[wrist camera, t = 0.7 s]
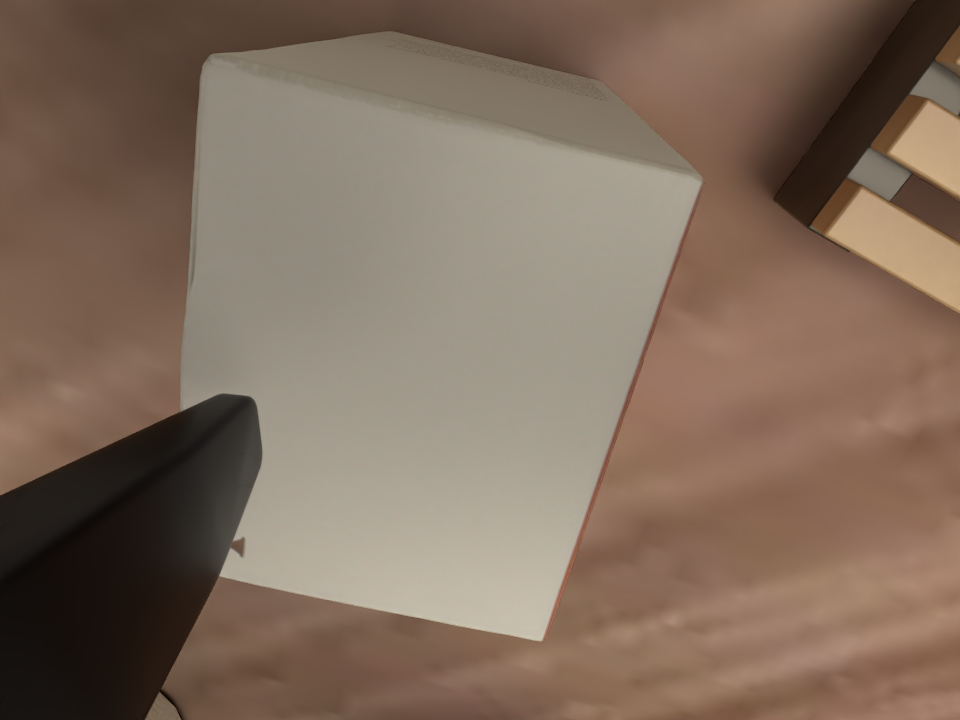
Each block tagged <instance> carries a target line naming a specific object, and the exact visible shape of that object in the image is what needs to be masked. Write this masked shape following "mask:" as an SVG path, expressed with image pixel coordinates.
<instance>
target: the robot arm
mask: <svg viewBox="0 0 960 720" xmlns="http://www.w3.org/2000/svg"><path fill="white" fill-rule="evenodd" d="M262 455H263V450H262V441H261V433H260V425H259V417H258V409H257V405H256V402H255V400H254V399H253V398H252V397H250V396H245V395H236V394H226V393H221V394H218V395H215V396H213V397H211V398H209V399H207V400H205V401H202V402H200V403H198V404H196V405H194V406H192V407H190V408H187V409H185V410H183V411H181V412H179V413H177V414H175V415H172V416H170V417H168V418H166V419H164V420H162V421H160V422H157V423H155V424H153V425H151V426H149V427H147V428H144V429H142V430H140V431H138V432H136V433H134V434H132V435H129V436H127V437H125V438H123V439H121V440H119V441H117V442H114V443H112V444H110V445H108V446H106V447H104V448H102V449H99V450H97V451H95V452H93V453H91V454H89V455H86V456H84V457H82V458H80V459H78V460H76V461H74V462H71V463H69V464H67V465H65V466H63V467H61V468H59V469H56V470H54V471H52V472H50V473H48V474H46V475H43V476H41V477H39V478H37V479H35V480H33V481H31V482H28V483H26V484H24V485H22V486H20V487H18V488H16V489H13V490H11V491H9V492H7V493H5V494H3V495H1V496H0V720H145V719H146V717H147V715H148V713H149V711H150V709H151V707H152V705H153V703H154V701H155V699H156V697H157V695H158V694H159V692H160V690H161V688H162V686H163V684H164V682H165V680H166V678H167V676H168V674H169V672H170V670H171V668H172V666H173V665H174V663H175V661H176V659H177V657H178V655H179V653H180V651H181V649H182V647H183V645H184V643H185V641H186V639H187V637H188V636H189V634H190V632H191V630H192V628H193V626H194V624H195V622H196V620H197V618H198V616H199V614H200V612H201V610H202V608H203V607H204V605H205V603H206V601H207V599H208V597H209V595H210V593H211V591H212V589H213V587H214V585H215V583H216V581H217V579H218V577H219V575H220V573H221V570H222V568H223V565H224V563H225V560H226V558H227V555H228V553H229V550H230V548H231V545H232V542H233V540H234V537H235V534H236V532H237V529H238V526H239V524H240V521H241V518H242V516H243V513H244V510H245V508H246V505H247V503H248V500H249V497H250V495H251V492H252V489H253V487H254V484H255V481H256V479H257V476H258V473H259V471H260V468H261V463H262Z"/></svg>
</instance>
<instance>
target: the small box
mask: <svg viewBox="0 0 960 720" xmlns="http://www.w3.org/2000/svg"><path fill="white" fill-rule="evenodd" d="M704 184H705V182H704V180H703V178H702V177H701V175H700V174H699V173H698V172H697V171H696V170H695V169H694V168H693V167H692V166H691V165H690V163H689V162H688V161H686V160H685V159H684V158H683V157H682V156H681V155H680V154H679V153H678V152H677V151H675V150H674V149H673V148H672V147H671V146H670V145H669V144H668V143H667V142H666V141H665V140H664V139H663V138H662V137H661V136H660V135H659V134H658V133H657V132H656V131H654V130H653V129H652V128H651V127H650V126H649V125H648V124H647V123H646V122H645V121H644V120H643V119H642V118H641V117H639V116H638V115H637V114H636V113H635V112H634V111H633V110H632V109H631V108H630V107H629V106H628V105H627V104H626V103H625V102H624V101H623V100H622V99H621V98H620V97H619V96H618V95H616V94H615V93H614V92H613V91H612V90H611V89H609V87H608V86H607V85H606V84H605V83H603V82H601V81H598V80H595V79H590V78H586V77H582V76H578V75H574V74H569V73H565V72H561V71H557V70H552V69H548V68H544V67H540V66H536V65H532V64H527V63H523V62H519V61H515V60H511V59H507V58H502V57H498V56H494V55H490V54H486V53H481V52H477V51H473V50H469V49H465V48H461V47H456V46H452V45H448V44H444V43H440V42H436V41H431V40H427V39H423V38H419V37H415V36H410V35H406V34H402V33H398V32H392V31H384V32H378V33H369V34H361V35H356V36H349V37H344V38H338V39H333V40H323V41H318V42H309V43H303V44H296V45H290V46H283V47H277V48H271V49H265V50H252V51H245V52H233V53H215V54H211V55H210V56H209V58H208V59H207V60H206V62H205V63H204V64H203V68H202V72H201V76H200V88H199V104H198V116H197V129H196V148H195V165H194V180H193V195H192V217H191V238H190V255H189V271H188V290H187V300H186V310H185V319H184V327H183V336H182V347H181V373H180V382H181V394H180V412H181V411H183V410H185V409H187V408H190V407H192V406H194V405H196V404H198V403H200V402H202V401H205V400H207V399H209V398H211V397H213V396H215V395H218V394H221V393H226V394H236V395H245V396H250V397H252V398H253V399H254V400H255V402H256V405H257V409H258V417H259V425H260V433H261V441H262V450H263V455H262V463H261V468H260V471H259V473H258V476H257V479H256V481H255V484H254V487H253V489H252V492H251V495H250V497H249V500H248V503H247V505H246V508H245V510H244V513H243V516H242V518H241V521H240V524H239V526H238V529H237V532H236V534H235V537H234V540H233V542H232V545H231V548H230V550H229V553H228V555H227V558H226V560H225V563H224V565H223V568H222V570H221V573H220V575H219V576H221V577H225V578H229V579H233V580H237V581H242V582H246V583H250V584H255V585H259V586H264V587H268V588H273V589H278V590H282V591H287V592H292V593H297V594H302V595H306V596H311V597H316V598H321V599H326V600H331V601H336V602H341V603H346V604H351V605H356V606H360V607H365V608H370V609H375V610H380V611H386V612H391V613H396V614H401V615H405V616H411V617H418V618H423V619H427V620H432V621H437V622H442V623H447V624H452V625H456V626H461V627H467V628H472V629H477V630H483V631H488V632H493V633H500V634H507V635H511V636H516V637H520V638H525V639H530V640H535V641H542V640H544V639H545V638H546V637H547V635H548V634H549V631H550V628H551V626H552V623H553V620H554V617H555V614H556V611H557V609H558V606H559V603H560V600H561V597H562V594H563V592H564V589H565V586H566V583H567V580H568V577H569V574H570V571H571V569H572V566H573V563H574V560H575V557H576V554H577V551H578V548H579V545H580V543H581V540H582V537H583V534H584V531H585V528H586V525H587V522H588V519H589V516H590V514H591V511H592V508H593V505H594V502H595V499H596V496H597V494H598V491H599V488H600V485H601V482H602V479H603V476H604V473H605V470H606V467H607V465H608V462H609V459H610V456H611V453H612V450H613V448H614V445H615V442H616V439H617V436H618V433H619V430H620V428H621V425H622V422H623V419H624V416H625V413H626V410H627V408H628V405H629V402H630V399H631V396H632V394H633V391H634V388H635V385H636V382H637V379H638V376H639V373H640V370H641V367H642V364H643V361H644V357H645V354H646V351H647V349H648V346H649V343H650V341H651V338H652V335H653V332H654V329H655V326H656V323H657V320H658V317H659V314H660V311H661V308H662V305H663V302H664V300H665V297H666V294H667V291H668V288H669V285H670V282H671V279H672V276H673V273H674V270H675V267H676V264H677V262H678V259H679V256H680V253H681V250H682V247H683V244H684V241H685V239H686V236H687V233H688V230H689V227H690V224H691V221H692V218H693V216H694V213H695V210H696V207H697V204H698V201H699V197H700V194H701V192H702V189H703V187H704Z"/></svg>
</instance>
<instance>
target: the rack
mask: <svg viewBox="0 0 960 720" xmlns="http://www.w3.org/2000/svg"><path fill="white" fill-rule="evenodd" d="M959 115H960V0H916V1H915V3H914V4H913V5H912V7H911V8H910V10H909V11H908V12H907V14H906V15H905V17H904V18H903V19H902V21H901V22H900V24H899V25H898V26H897V28H896V29H895V30H894V32H893V33H892V35H891V36H890V37H889V39H888V40H887V42H886V43H885V44H884V46H883V47H882V49H881V50H880V51H879V53H878V54H877V56H876V57H875V58H874V60H873V61H872V63H871V64H870V65H869V67H868V68H867V70H866V71H865V72H864V74H863V75H862V77H861V78H860V79H859V81H858V82H857V84H856V85H855V86H854V88H853V89H852V91H851V92H850V93H849V95H848V96H847V98H846V99H845V100H844V102H843V103H842V104H841V106H840V107H839V109H838V110H837V111H836V113H835V114H834V116H833V117H832V118H831V120H830V121H829V123H828V124H827V125H826V127H825V128H824V130H823V131H822V132H821V134H820V135H819V137H818V138H817V139H816V141H815V142H814V144H813V145H812V146H811V148H810V149H809V151H808V152H807V153H806V155H805V156H804V158H803V159H802V160H801V162H800V163H799V165H798V166H797V167H796V169H795V170H794V171H793V173H792V174H791V176H790V177H789V178H788V180H787V181H786V183H785V184H784V185H783V187H782V188H781V190H780V191H779V192H778V194H777V195H776V197H775V198H774V202H776V203H777V204H778V205H779V206H780V207H782V208H783V209H784V210H785V211H787V212H788V213H789V214H790V215H792V216H793V217H794V218H795V219H796V220H798V221H799V222H800V223H801V224H803V225H804V226H805V227H806V228H808V229H809V230H811V231H813V232H815V233H816V234H818V235H820V236H822V237H823V238H825V239H827V240H828V241H830V242H832V243H834V244H835V245H837V246H839V247H841V248H842V249H844V250H846V251H848V252H853V253H854V254H856V255H858V256H860V257H861V258H863V259H865V260H867V261H868V262H870V263H872V264H874V265H875V266H877V267H879V268H881V269H882V270H884V271H886V272H887V273H889V274H891V275H893V276H894V277H896V278H898V279H900V280H901V281H903V282H905V283H907V284H908V285H910V286H912V287H914V288H915V289H917V290H919V291H921V292H922V293H924V294H926V295H927V296H929V297H931V298H933V299H934V300H936V301H938V302H940V303H941V304H943V305H945V306H947V307H948V308H950V309H952V310H954V311H955V312H957V313H959V314H960V243H959V242H958V241H956V240H954V239H953V238H951V237H949V236H948V235H946V234H944V233H942V232H941V231H939V230H937V229H936V228H934V227H932V226H931V225H929V224H927V223H926V222H924V221H922V220H921V219H919V218H917V217H916V216H914V215H912V214H910V213H909V212H907V211H905V210H904V209H902V208H900V207H899V206H897V205H895V204H894V203H892V202H891V200H892V199H893V198H894V197H895V195H896V194H897V193H898V192H899V190H900V189H901V188H902V186H903V185H904V184H905V183H906V181H907V180H908V179H909V178H910V176H911V175H912V174H915V175H916V176H918V177H920V178H921V179H923V180H925V181H926V182H928V183H929V184H931V185H933V186H934V187H936V188H938V189H939V190H941V191H943V192H944V193H946V194H948V195H949V196H951V197H953V198H954V199H956V200H958V201H959V202H960V117H959Z"/></svg>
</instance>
